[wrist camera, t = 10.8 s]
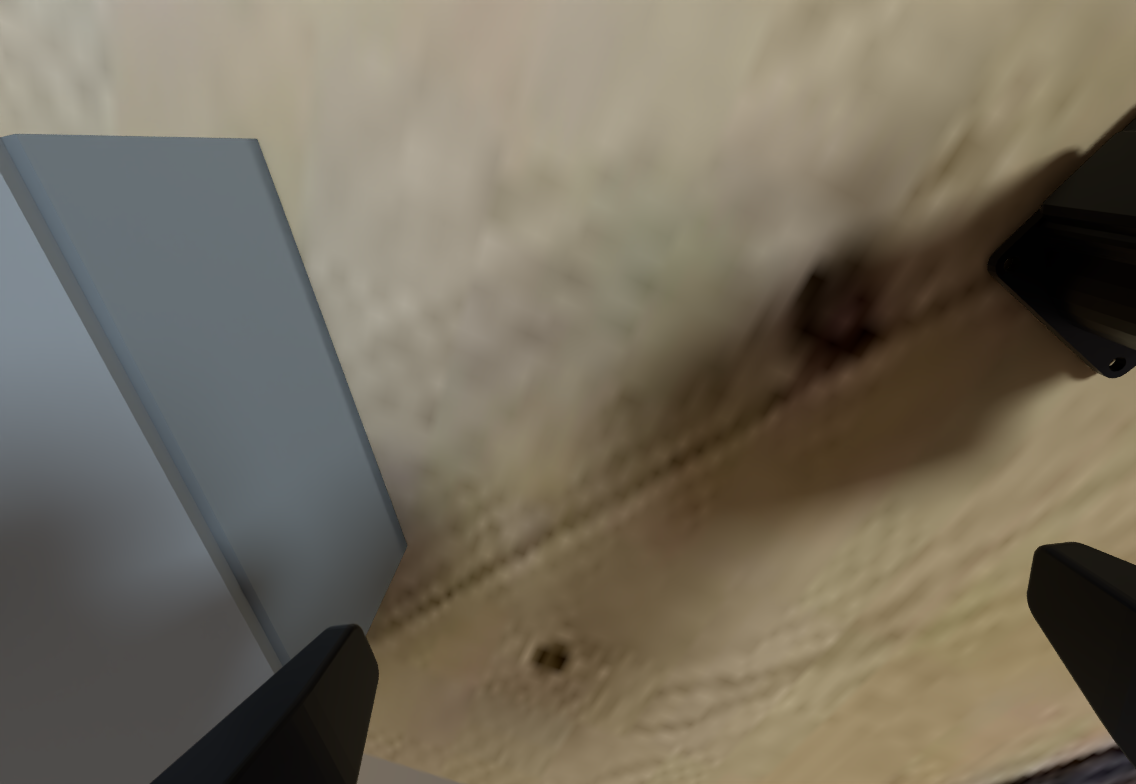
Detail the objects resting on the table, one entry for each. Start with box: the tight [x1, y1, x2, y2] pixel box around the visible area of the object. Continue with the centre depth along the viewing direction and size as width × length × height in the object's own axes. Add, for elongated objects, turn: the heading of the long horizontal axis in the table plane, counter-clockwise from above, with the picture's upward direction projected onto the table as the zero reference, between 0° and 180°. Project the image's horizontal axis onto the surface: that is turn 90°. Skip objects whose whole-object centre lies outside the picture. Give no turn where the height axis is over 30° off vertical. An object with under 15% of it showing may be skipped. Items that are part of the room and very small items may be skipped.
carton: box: [0, 134, 407, 666], centre depth 18 cm, size 10×16×8 cm, turn 11°
